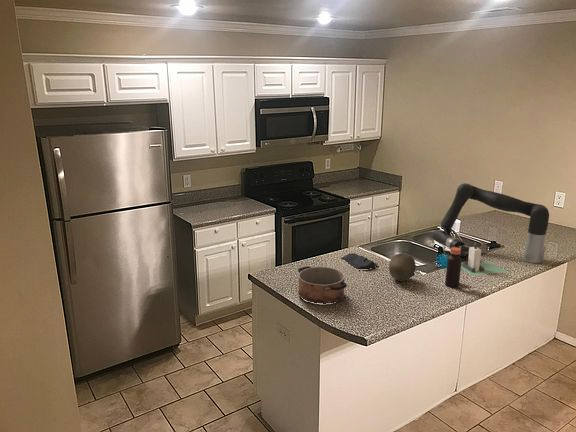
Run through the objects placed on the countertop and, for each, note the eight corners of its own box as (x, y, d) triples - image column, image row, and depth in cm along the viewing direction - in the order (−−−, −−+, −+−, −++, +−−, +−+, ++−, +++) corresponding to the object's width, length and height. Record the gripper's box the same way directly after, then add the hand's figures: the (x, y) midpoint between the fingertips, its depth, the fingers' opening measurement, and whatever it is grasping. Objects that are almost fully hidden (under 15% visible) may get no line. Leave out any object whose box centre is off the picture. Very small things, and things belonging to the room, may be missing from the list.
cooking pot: (359, 300, 219) (360, 279, 216) (324, 313, 206) (324, 292, 203) (318, 280, 242) (318, 261, 239) (284, 291, 229) (284, 271, 227)
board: (489, 263, 264) (489, 261, 264) (507, 273, 249) (508, 271, 249) (455, 266, 260) (455, 264, 259) (471, 277, 245) (472, 275, 244)
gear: (439, 268, 252) (435, 252, 257) (434, 272, 257) (431, 256, 262) (457, 270, 254) (453, 253, 259) (451, 274, 259) (448, 258, 264)
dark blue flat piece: (356, 256, 277) (357, 248, 276) (380, 268, 259) (381, 260, 258) (336, 260, 270) (336, 253, 269) (359, 273, 252) (359, 265, 251)
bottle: (457, 289, 230) (461, 252, 225) (443, 286, 234) (447, 249, 228) (460, 284, 236) (464, 248, 230) (446, 281, 239) (450, 245, 234)
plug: (473, 266, 256) (476, 241, 252) (480, 270, 250) (483, 245, 246) (467, 267, 255) (470, 242, 251) (473, 271, 249) (476, 245, 245)
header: (472, 264, 260) (472, 260, 259) (484, 271, 250) (484, 267, 249) (460, 265, 258) (460, 261, 258) (471, 272, 248) (472, 268, 248)
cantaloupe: (382, 277, 245) (383, 251, 240) (404, 274, 249) (406, 248, 245) (397, 288, 232) (399, 260, 228) (420, 284, 237) (422, 257, 233)
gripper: (444, 239, 267) (460, 248, 251) (466, 238, 270) (483, 247, 254) (443, 251, 269) (459, 261, 253) (465, 249, 272) (481, 259, 256)
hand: (471, 254), depth 254 cm, fingers open, 8 cm apart
